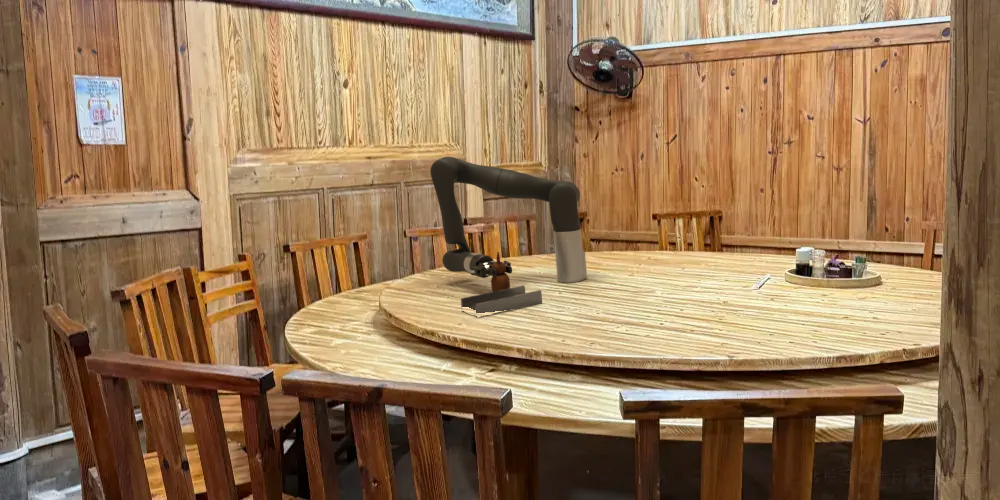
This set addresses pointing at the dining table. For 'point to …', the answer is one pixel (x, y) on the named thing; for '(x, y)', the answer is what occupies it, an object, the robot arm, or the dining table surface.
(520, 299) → the sliding track
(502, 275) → the wooden figurine
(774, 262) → the dining table surface
